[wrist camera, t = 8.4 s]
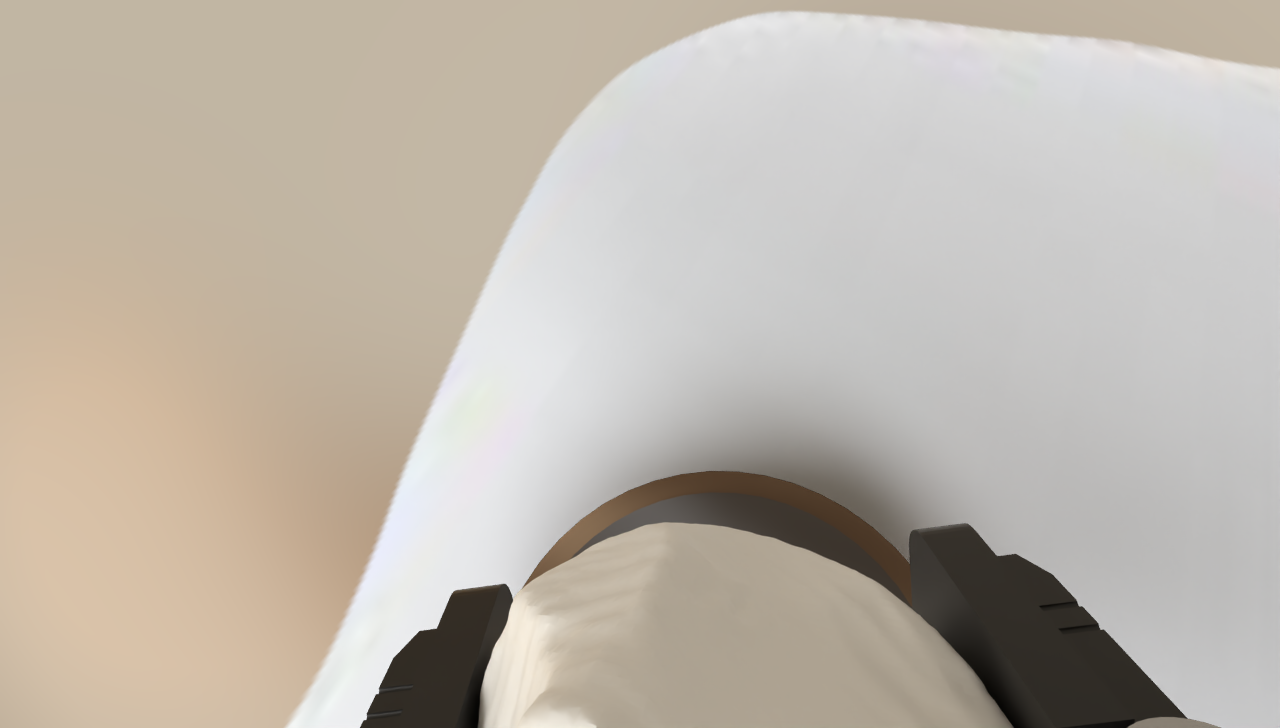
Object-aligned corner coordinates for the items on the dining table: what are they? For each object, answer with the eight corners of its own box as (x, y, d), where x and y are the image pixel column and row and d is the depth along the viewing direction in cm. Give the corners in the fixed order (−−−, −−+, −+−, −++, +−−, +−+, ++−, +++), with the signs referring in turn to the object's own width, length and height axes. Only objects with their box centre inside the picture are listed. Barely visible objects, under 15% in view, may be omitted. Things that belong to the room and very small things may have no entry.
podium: (643, 441, 30) (628, 395, 26) (1005, 618, 25) (1059, 598, 21) (438, 798, 25) (377, 815, 21) (842, 1102, 20) (872, 1204, 16)
